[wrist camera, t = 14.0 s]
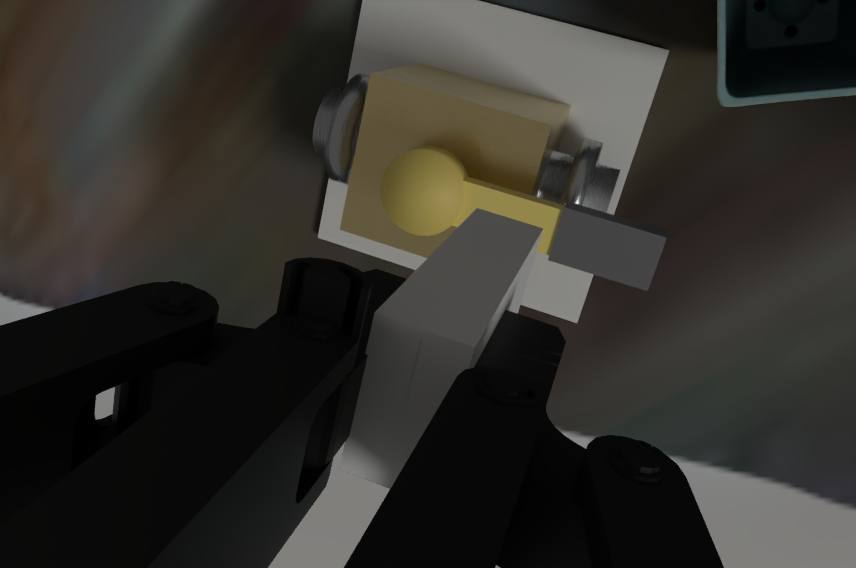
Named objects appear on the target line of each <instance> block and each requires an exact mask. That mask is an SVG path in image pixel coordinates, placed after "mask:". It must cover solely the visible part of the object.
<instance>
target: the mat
mask: <svg viewBox="0 0 856 568" xmlns="http://www.w3.org/2000/svg"><path fill="white" fill-rule="evenodd" d="M668 53H669V50H667V49H663V48H659V47H655V46H652V45H648V44H644V43H640V42H636V41H632V40H629V39H625V38H621V37H617V36H613V35H610V34H606V33H602V32H598V31H594V30H590V29H587V28H583V27H579V26H575V25H571V24H567V23H564V22H560V21H556V20H552V19H548V18H545V17H541V16H537V15H533V14H529V13H525V12H522V11H518V10H514V9H510V8H506V7H503V6H499V5H495V4H491V3H487V2H483V1H480V0H363V1H362V7H361V12H360V17H359V22H358V28H357V33H356V38H355V43H354V49H353V54H352V59H351V64H350V70H349V75H348V80H347V83H348V82H349V81H350V79H351V78H353V77H354V76H355V75H356V74H359V73H362V74H366V75H369V76H370V75H371V73H374V72H379V71H384V70H388V69H393V68H398V67H403V66H408V65H412V64H417V63H421V64H424V65H428V66H432V67H435V68H439V69H442V70H446V71H449V72H453V73H457V74H460V75H464V76H467V77H471V78H474V79H478V80H481V81H485V82H489V83H492V84H496V85H499V86H503V87H506V88H510V89H514V90H517V91H521V92H524V93H528V94H531V95H535V96H539V97H542V98H546V99H549V100H553V101H556V102H560V103H563V104H567V105H571V109H570V113H569V116H568V119H567V123H566V126H565V129H564V133H563V136H562V139H561V143H560V146H559V149H558V152H562V153H565V154H568V155H572V156H575V155H576V152H577V150H578V147H579V145H580V142H581V140H582V138H583V137H585V138H589V139H592V140H596V141H599V142H603V143H604V144H603V148H602V152H601V155H600V159H599V162H598V163H599V164H603V165H606V166H609V167H613V168H616V169H620V173H619V176H618V179H617V182H616V185H615V188H614V191H613V194H612V197H611V200H610V203H609V206H608V209H607V212H606V213H609V214H612V215H614V213H615V210H616V207H617V204H618V201H619V198H620V195H621V192H622V189H623V186H624V183H625V180H626V177H627V174H628V171H629V168H630V165H631V162H632V159H633V157H634V154H635V151H636V148H637V145H638V142H639V139H640V136H641V133H642V130H643V127H644V124H645V121H646V118H647V115H648V112H649V109H650V106H651V103H652V100H653V97H654V95H655V92H656V89H657V86H658V83H659V80H660V77H661V74H662V71H663V68H664V65H665V62H666V59H667V56H668ZM347 190H348V185H346V184H343V183H340V182H337V181H333V180H331V179H330V178H329V180H328V186H327V191H326V196H325V201H324V207H323V212H322V217H321V223H320V228H319V233H318V238H321V239H324V240H327V241H330V242H333V243H336V244H339V245H342V246H345V247H348V248H351V249H354V250H357V251H360V252H363V253H366V254H369V255H372V256H375V257H378V258H381V259H384V260H387V261H390V262H393V263H396V264H399V265H402V266H405V267H408V268H411V269H414V270H417V269H418V268H419V267H420V266H421V265H422V264H423V263H424V262H425V261H426V260H427V258H425V257H422V256H419V255H416V254H413V253H410V252H407V251H403V250H400V249H397V248H394V247H391V246H388V245H385V244H382V243H379V242H376V241H373V240H370V239H367V238H364V237H361V236H358V235H354V234H351V233H348V232H345V231H342V230H340V225H341V220H342V215H343V210H344V205H345V200H346V195H347ZM548 258H549V255H546V254H542V253H539V252H536V255H535V258H534V261H533V265H532V268H531V271H530V274H529V278H528V281H527V284H526V287H525V291H524V294H523V297H522V301H521V304H520V305H523V306H526V307H529V308H532V309H536V310H539V311H542V312H545V313H548V314H551V315H554V316H557V317H560V318H563V319H566V320H569V321H572V322H575V323H577V322H578V319H579V316H580V313H581V310H582V307H583V304H584V301H585V298H586V295H587V292H588V289H589V286H590V283H591V281H592V278H593V275H594V274H591V273H587V272H584V271H581V270H578V269H574V268H571V267H568V266H565V265H562V264H558V263H555V262H552V261H549V260H548Z"/></svg>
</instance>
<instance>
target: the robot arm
mask: <svg viewBox="0 0 856 568" xmlns="http://www.w3.org/2000/svg"><path fill="white" fill-rule="evenodd" d="M542 232H543V228H540V227H537V226H534V225H531V224H527V223H524V222H521V221H518V220H514V219H511V218H508V217H505V216H502V215H498V214H495V213H492V212H489V211H486V210H482V209H479V208H476V209H475V210H474V211H473V212H472V214H471V215H470V216H469V217H468V218H467V219H466V220H465V221H464V222H463V223H462V224H461V225H460V226H459V227H458V228H457V229H456V230H455V231H454V232H453V233H452V234H451V235H450V236H449V237H448V238H447V239H446V240H445V241H444V242H443V243H442V244H441V245H440V246H439V247H438V248H437V249H436V250H435V251H434V252H433V253H432V254H431V255H430V256H429V257H428V258H427V260H426V261H425V262H424V263H423V264H422V265H421V266H420V267H419V268H418V269H417V270H416V271H415V272H414V273H413V274H412V275H411V276H410V277H409V278H408V279H405V278H402V277H399V276H396V275H393V274H390V273H387V272H384V271H381V270H378V269H374V270H370V271H366V272H361V271H360V270H358V269H356V268H354V267H352V266H349V265H347V264H345V263H341V262H337V261H333V260H329V259H321V258H311V257H310V258H297V259H294V260H291V261H288V262H285V268H284V274H283V279H282V285H281V291H280V296H279V302H278V308H277V313H276V314H274V315H273V316H272V317H271V318H269V319H268V320H267V321H265V322H264V323H263V324H262V325H260V326H259V327H258V328H256V329H253V328H244V327H239V326H233V325H227V324H222V323H217V318H218V311H219V305H218V303H217V301H216V299H215V298H214V297H213V296H211V295H210V294H209V293H207V292H206V291H204V290H201V289H198V288H196V287H194V286H192V285H190V284H186V283H183V284H181V282H175V281H170V282H154V283H148V284H142V285H138V286H134V287H131V288H127V289H124V290H120V291H117V292H114V293H110V294H107V295H103V296H100V297H97V298H93V299H90V300H86V301H83V302H79V303H76V304H73V305H69V306H66V307H62V308H59V309H55V310H52V311H49V312H45V313H42V314H39V315H35V316H32V317H28V318H25V319H21V320H18V321H14V322H11V323H7V324H4V325H1V326H0V568H268V566H269V565H270V564H271V562H272V561H273V559H274V558H275V557H276V555H277V554H278V552H279V551H280V550H281V548H282V547H283V545H284V544H285V543H286V541H287V540H288V538H289V537H290V536H291V534H292V533H293V532H294V530H295V528H296V527H297V526H298V525H299V523H300V522H301V520H302V519H303V518H304V516H305V515H306V513H307V512H308V511H309V509H310V508H311V506H312V505H313V504H314V502H315V501H316V499H317V498H318V497H319V495H320V494H321V492H322V491H323V489H324V488H325V487H326V484H327V482H328V479H329V475H330V471H331V466H332V461H333V457H334V456H335V454H336V453H337V452H338V450H339V449H340V448H341V446H342V445H343V444H344V442H345V445H344V449H343V453H342V458H341V462H340V467H339V469H340V470H343V471H345V472H348V473H350V474H353V475H356V476H358V477H361V478H363V479H366V480H369V481H371V482H374V483H376V484H379V485H382V486H384V487H387V488H390V491H389V492H388V494H387V496H386V497H385V499H384V501H383V502H382V504H381V506H380V508H379V509H378V511H377V512H376V514H375V516H374V518H373V519H372V521H371V523H370V524H369V526H368V528H367V530H366V531H365V533H364V535H363V536H362V538H361V540H360V542H359V543H358V545H357V546H356V548H355V550H354V551H353V553H352V555H351V557H350V558H349V560H348V562H347V563H346V565H345V567H344V568H495V566H496V565H497V566H499V567H500V568H724V567H723V565H722V562H721V560H720V557H719V555H718V552H717V550H716V548H715V545H714V543H713V541H712V538H711V536H710V534H709V531H708V528H707V526H706V524H705V521H704V519H703V517H702V514H701V512H700V509H699V507H698V505H697V502H696V500H695V497H694V495H693V493H692V490H691V488H690V486H689V483H688V481H687V478H686V476H685V475H684V473H683V472H682V470H681V469H680V468H679V466H678V465H677V464H676V463H675V462H674V461H673V460H671V459H670V458H669V457H668V456H667V455H665V454H664V453H663V452H662V451H661V450H659V449H658V448H656V447H654V446H653V447H652V446H651V445H650V444H648V443H646V442H644V441H640V440H638V441H637V440H634V439H631V438H628V437H622V436H614V435H607V436H602V437H596V438H595V439H594V440H593V441H591V442H590V443H589V444H588V446H587V449H585V448H583V447H582V446H580V445H578V444H576V443H575V442H573V441H572V440H570V439H569V438H567V437H566V436H564V435H563V434H562V433H561V432H560V431H559V430H558V429H556V428H555V426H554V425H553V424H552V422H551V421H550V420H549V418H548V415H547V413H546V404H547V400H548V397H549V394H550V391H551V388H552V384H553V381H554V378H555V375H556V372H557V369H558V365H559V362H560V359H561V356H562V353H563V349H564V346H565V343H566V341H565V339H564V337H563V335H562V333H561V332H560V330H559V328H558V327H556V326H553V325H550V324H547V323H544V322H541V321H538V320H535V319H532V318H529V317H526V316H523V315H520V314H518V310H519V307H520V304H521V301H522V297H523V294H524V291H525V287H526V284H527V281H528V278H529V274H530V271H531V268H532V265H533V261H534V258H535V255H536V251H537V248H538V245H539V242H540V238H541V235H542ZM113 387H115V394H114V405H113V414H112V415H109V416H107V417H105V418H103V419H98V420H96V419H95V415H94V412H95V400H96V395H97V394H99V393H101V392H103V391H105V390H108V389H110V388H113Z"/></svg>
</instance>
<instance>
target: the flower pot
mask: <svg viewBox="0 0 856 568" xmlns="http://www.w3.org/2000/svg"><path fill="white" fill-rule="evenodd" d="M757 1H759V0H717V99H718V101H719V103H720V104H721V105H723V106H725V107H736V106H746V105H754V104H765V103H775V102H783V101H793V100H805V99H816V98H827V97H837V96H850V95H856V0H826V1H825V2H822V3H821V2H819V1H818V0H761V1H763V2H764V4H765V5H764V8H763V9H762V10H756V9H755V3H756V2H757ZM789 27H792V28H794V29H795V33H794V35H792V36H790V37H788V36H786V34H785V31H786V29H787V28H789Z"/></svg>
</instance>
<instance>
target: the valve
mask: <svg viewBox="0 0 856 568" xmlns="http://www.w3.org/2000/svg"><path fill="white" fill-rule="evenodd" d="M570 109H571V105H567V104H563V103H560V102H556V101H553V100H549V99H546V98H542V97H539V96H535V95H531V94H528V93H524V92H521V91H517V90H514V89H510V88H506V87H503V86H499V85H496V84H492V83H489V82H485V81H481V80H478V79H474V78H471V77H467V76H464V75H460V74H457V73H453V72H449V71H446V70H442V69H439V68H435V67H432V66H428V65H424V64H421V63H417V64H412V65H408V66H403V67H398V68H393V69H388V70H384V71H379V72H374V73H371V75H370V76H369V75H366V74H362V73H359V74H356V75H355V76H354V77H353V78H351V79H350V81H349V82H348V83H347V85H346V86H345V88H344V89H342V88H339V87H333V88H331V89H330V90H329V91H328V92H327V94H326V95H325V97H324V98H323V100H322V102H321V104H320V107H319V109H318V112H317V115H316V119H315V123H314V129H313V148H314V152H315V153H316V155H318V156H321V157H324V158H325V166H326V171H327V174H328V176H329V178H330V179H331V180H333V181H337V182H340V183H343V184H346V185H348V190H347V195H346V200H345V205H344V210H343V215H342V220H341V225H340V230H342V231H345V232H348V233H351V234H354V235H358V236H361V237H364V238H367V239H370V240H373V241H376V242H379V243H382V244H385V245H388V246H391V247H394V248H397V249H400V250H403V251H407V252H410V253H413V254H416V255H419V256H422V257H425V258H428V257H429V256H430V255H431V254H432V253H433V252H434V251H435V250H436V249H437V248H438V247H439V246H440V245H441V244H442V243H443V242H444V241H445V240H446V239H447V238H448V237H449V236H450V235H451V234H452V233H453V232H454V231H455V230H456V229H457V228H458V227H455V226H452V225H451V226H450V227H449V228H448V229H446V230H445V231H443V232H441V233H438V234H435V235H430V236H420V235H414V234H411V233H408V232H406V231H404V230H402V229H401V228H399V227H398V226H397V225H396V224H395V223H394V222H393V221H392V220H391V219H390V218H389V216H388V215H387V213H386V211H385V209H384V207H383V204H382V201H381V196H380V185H381V179H382V176H383V173H384V171H385V169H386V168H387V166H388V165H389V164H390V162H391V161H392V160H394V159H395V158H396V157H397V156H399V155H401V154H402V153H404V152H406V151H408V150H410V149H412V148H415V147H418V146H425V145H430V146H437V147H440V148H443V149H445V150H447V151H449V152H450V153H452V154H453V155H454V156H456V157H457V158H458V159H459V161H460V162H461V163H462V164H463V166H464V168H465V170H466V172H467V174H468V177H470V178H474V179H477V180H481V181H484V182H487V183H491V184H494V185H497V186H501V187H504V188H508V189H511V190H514V191H518V192H521V193H524V194H528V195H531V196H535V197H538V198H541V199H545V200H548V201H551V202H555V203H558V204H561V205H566V203H567V201H568V202H571V203H575V204H578V205H581V206H585V207H588V208H592V209H595V210H598V211H602V212H605V213H606V212H607V209H608V206H609V203H610V200H611V197H612V194H613V191H614V188H615V185H616V182H617V179H618V176H619V173H620V169H616V168H613V167H609V166H606V165H603V164H599V163H598V162H599V159H600V155H601V152H602V148H603V144H604V143H603V142H599V141H596V140H592V139H589V138H585V137H583V138H582V140H581V142H580V145H579V147H578V150H577V152H576V155H575V156H572V155H568V154H565V153H562V152H558V149H559V146H560V143H561V139H562V136H563V133H564V129H565V126H566V123H567V119H568V116H569V113H570Z"/></svg>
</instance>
